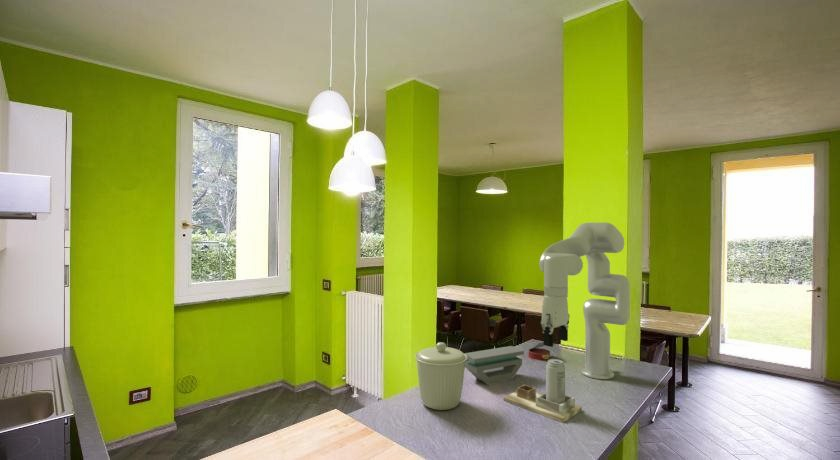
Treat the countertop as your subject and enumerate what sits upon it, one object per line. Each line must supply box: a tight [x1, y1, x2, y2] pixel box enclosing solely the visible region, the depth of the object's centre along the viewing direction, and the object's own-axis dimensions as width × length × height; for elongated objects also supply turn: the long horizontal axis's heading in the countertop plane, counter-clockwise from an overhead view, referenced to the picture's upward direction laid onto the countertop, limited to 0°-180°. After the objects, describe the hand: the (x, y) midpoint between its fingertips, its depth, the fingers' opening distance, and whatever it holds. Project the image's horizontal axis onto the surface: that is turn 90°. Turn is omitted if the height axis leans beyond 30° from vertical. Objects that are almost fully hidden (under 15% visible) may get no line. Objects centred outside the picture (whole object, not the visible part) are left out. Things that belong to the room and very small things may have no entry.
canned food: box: [528, 341, 551, 361], centre depth 190 cm, size 11×10×10 cm
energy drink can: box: [545, 358, 566, 404], centre depth 133 cm, size 6×6×15 cm
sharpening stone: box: [463, 345, 525, 386], centre depth 161 cm, size 25×8×11 cm, turn 118°
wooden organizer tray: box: [503, 384, 583, 424], centre depth 136 cm, size 13×22×4 cm, turn 43°
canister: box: [414, 341, 468, 411], centre depth 137 cm, size 18×18×21 cm
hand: (555, 342), depth 133 cm, fingers open, 9 cm apart
